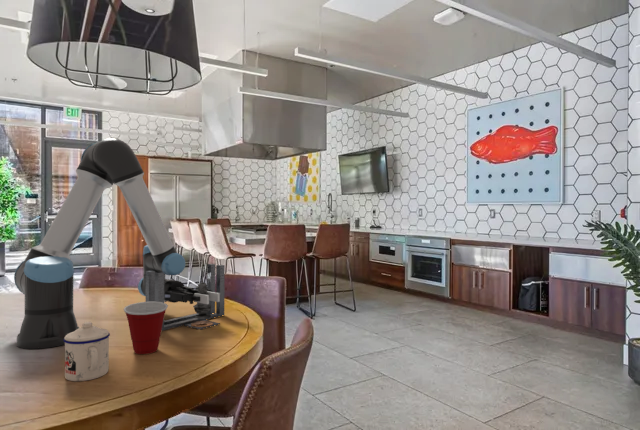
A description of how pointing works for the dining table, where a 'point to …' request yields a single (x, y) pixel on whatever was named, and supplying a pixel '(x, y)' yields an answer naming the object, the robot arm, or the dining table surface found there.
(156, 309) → the plastic cup
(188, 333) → the dining table surface
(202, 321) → the pad
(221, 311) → the metal stand
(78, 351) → the teacup with lid
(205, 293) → the dark grey finial
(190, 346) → the dining table surface
